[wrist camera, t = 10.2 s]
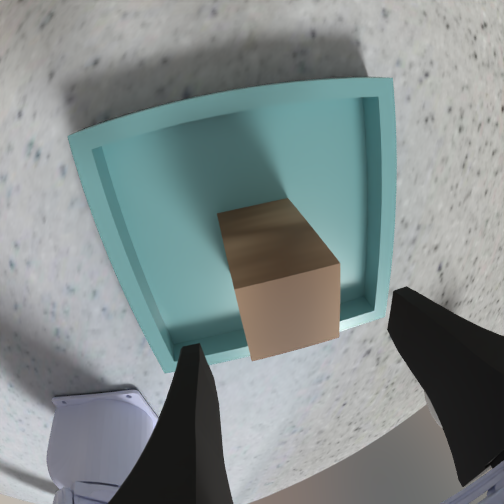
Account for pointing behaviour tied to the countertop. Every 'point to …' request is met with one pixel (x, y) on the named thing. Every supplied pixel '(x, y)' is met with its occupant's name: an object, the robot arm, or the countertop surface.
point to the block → (281, 278)
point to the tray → (241, 198)
